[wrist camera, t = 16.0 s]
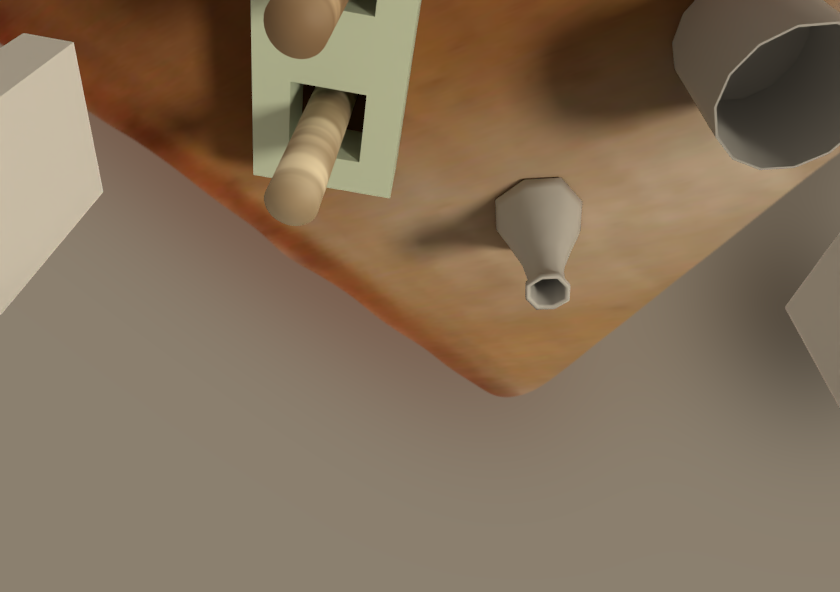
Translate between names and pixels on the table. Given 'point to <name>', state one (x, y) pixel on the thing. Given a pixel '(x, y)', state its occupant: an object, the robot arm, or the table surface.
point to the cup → (764, 77)
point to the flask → (541, 235)
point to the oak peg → (301, 25)
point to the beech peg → (309, 157)
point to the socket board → (340, 70)
